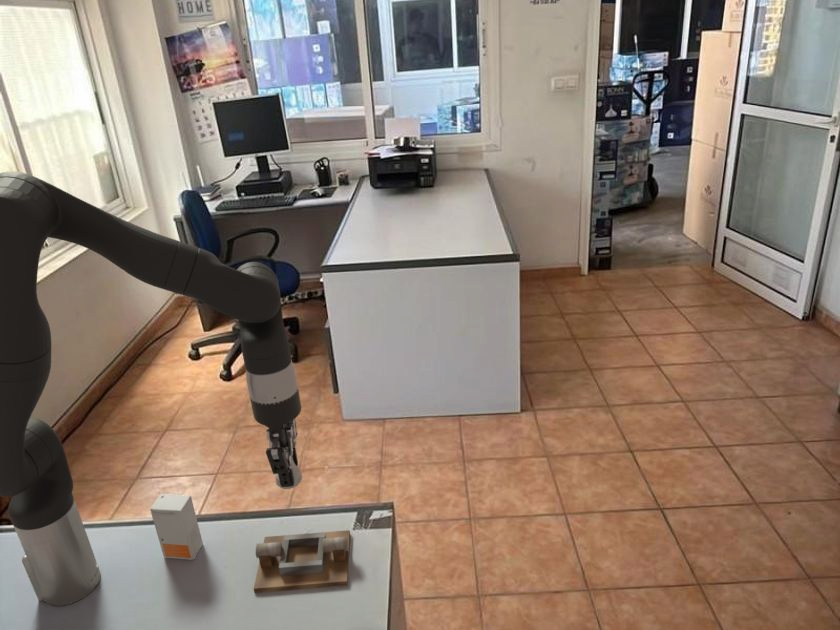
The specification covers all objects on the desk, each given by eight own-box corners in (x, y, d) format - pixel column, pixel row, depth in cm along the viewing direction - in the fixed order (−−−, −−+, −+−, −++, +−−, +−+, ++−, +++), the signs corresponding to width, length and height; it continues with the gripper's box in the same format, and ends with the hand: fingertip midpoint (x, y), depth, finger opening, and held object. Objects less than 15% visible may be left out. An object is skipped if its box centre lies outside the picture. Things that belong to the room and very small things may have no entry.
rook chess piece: (307, 483, 108) (300, 444, 104) (282, 494, 106) (274, 455, 102) (296, 469, 111) (289, 431, 108) (272, 479, 109) (264, 441, 106)
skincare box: (163, 559, 119) (148, 509, 114) (174, 541, 123) (160, 492, 117) (194, 561, 118) (180, 511, 113) (204, 543, 122) (191, 494, 116)
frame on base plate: (254, 592, 111) (250, 572, 109) (265, 540, 122) (261, 521, 120) (347, 585, 111) (344, 565, 109) (350, 534, 122) (347, 514, 120)
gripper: (291, 412, 94) (307, 503, 101) (302, 364, 107) (316, 447, 114) (240, 416, 94) (260, 507, 101) (257, 367, 107) (274, 451, 114)
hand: (289, 475), depth 108 cm, fingers closed on rook chess piece, 4 cm apart
